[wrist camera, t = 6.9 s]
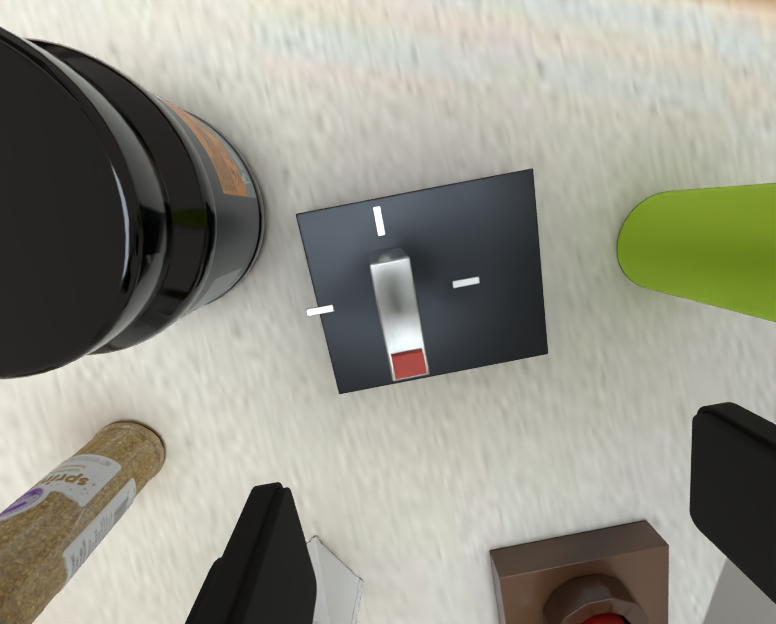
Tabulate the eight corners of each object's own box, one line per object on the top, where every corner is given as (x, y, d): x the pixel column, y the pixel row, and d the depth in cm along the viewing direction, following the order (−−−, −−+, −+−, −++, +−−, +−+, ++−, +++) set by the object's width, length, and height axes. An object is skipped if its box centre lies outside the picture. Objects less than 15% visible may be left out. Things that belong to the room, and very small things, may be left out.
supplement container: (180, 65, 19) (-98, -155, 8) (308, 235, 22) (240, 259, 10) (33, 189, 21) (-401, 156, 9) (170, 338, 23) (-31, 463, 11)
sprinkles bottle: (131, 406, 24) (-148, 632, 11) (182, 455, 25) (-18, 715, 12) (79, 445, 25) (-247, 706, 12) (131, 492, 26) (-113, 780, 13)
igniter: (646, 519, 28) (690, 568, 24) (647, 610, 31) (688, 667, 27) (489, 550, 28) (508, 603, 24) (502, 638, 31) (521, 699, 27)
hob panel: (511, 174, 22) (534, 167, 19) (527, 337, 24) (549, 355, 21) (294, 216, 22) (282, 216, 19) (333, 374, 24) (328, 398, 21)
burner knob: (368, 251, 19) (369, 265, 14) (399, 245, 19) (410, 257, 14) (386, 342, 21) (393, 384, 16) (415, 337, 21) (431, 377, 16)
